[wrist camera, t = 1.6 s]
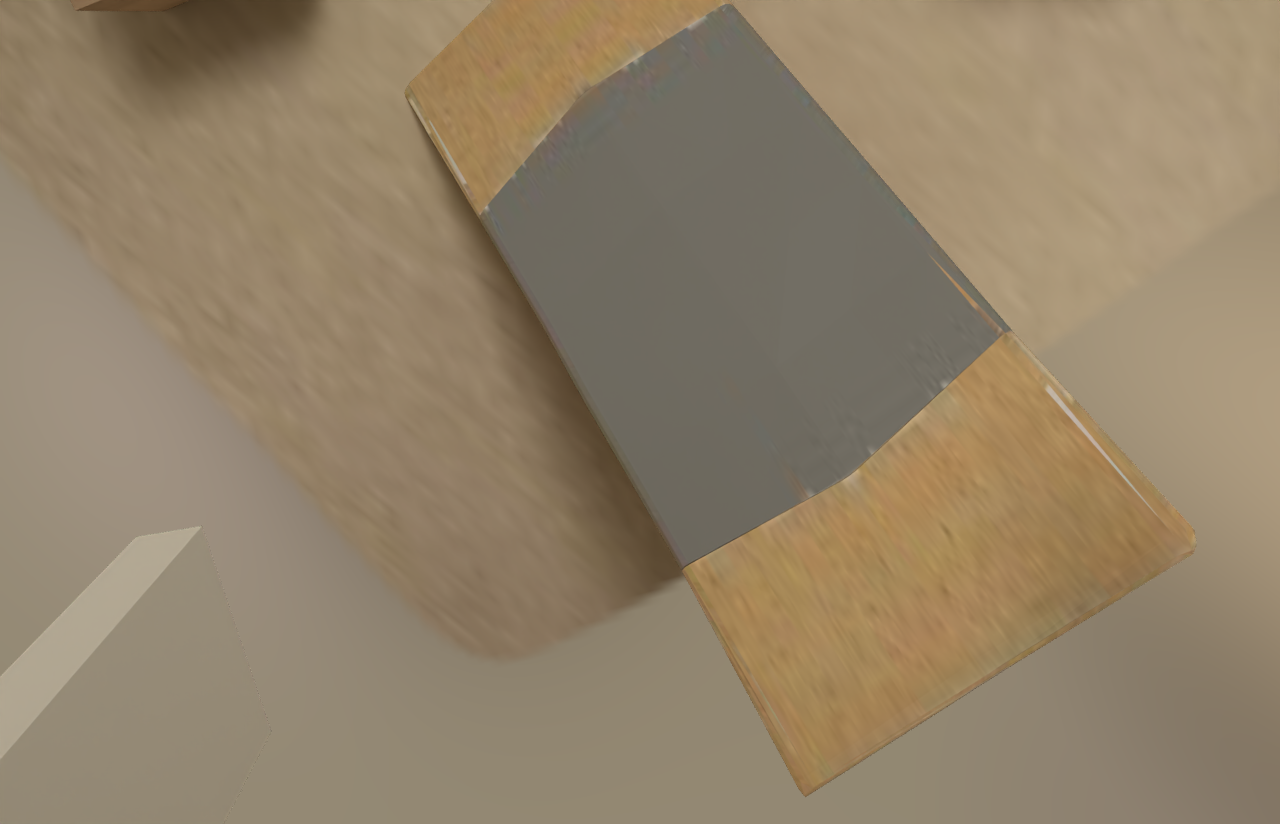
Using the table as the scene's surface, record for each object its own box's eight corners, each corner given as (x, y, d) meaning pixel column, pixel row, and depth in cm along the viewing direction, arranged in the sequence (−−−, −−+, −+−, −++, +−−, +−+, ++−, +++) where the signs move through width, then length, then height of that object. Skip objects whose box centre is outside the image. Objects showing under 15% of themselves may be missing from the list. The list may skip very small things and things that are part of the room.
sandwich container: (633, -132, 28) (633, -275, 14) (964, 313, 32) (1220, 544, 18) (391, 89, 30) (180, 156, 16) (734, 484, 34) (806, 814, 20)
